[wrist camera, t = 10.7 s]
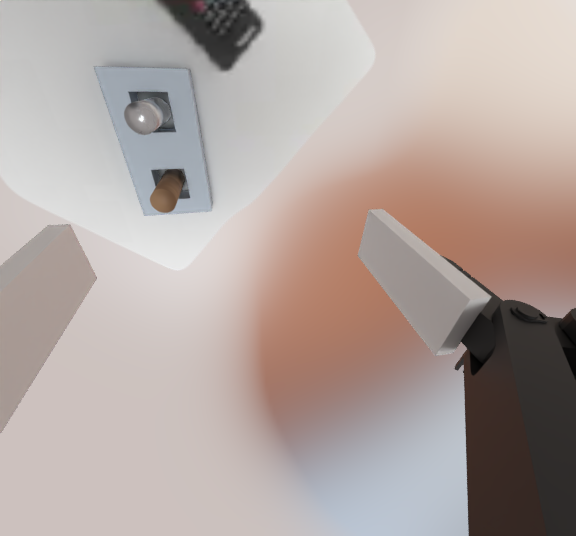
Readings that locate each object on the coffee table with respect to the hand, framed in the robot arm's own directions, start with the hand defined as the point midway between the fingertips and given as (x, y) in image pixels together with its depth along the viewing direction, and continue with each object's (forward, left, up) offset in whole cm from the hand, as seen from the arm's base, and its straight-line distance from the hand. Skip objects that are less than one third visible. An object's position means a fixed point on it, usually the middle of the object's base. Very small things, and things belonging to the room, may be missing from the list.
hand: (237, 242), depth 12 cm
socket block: (+2, -9, -33) cm, 34 cm away
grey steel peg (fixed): (-3, -9, -33) cm, 34 cm away
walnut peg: (+6, -9, -33) cm, 35 cm away
